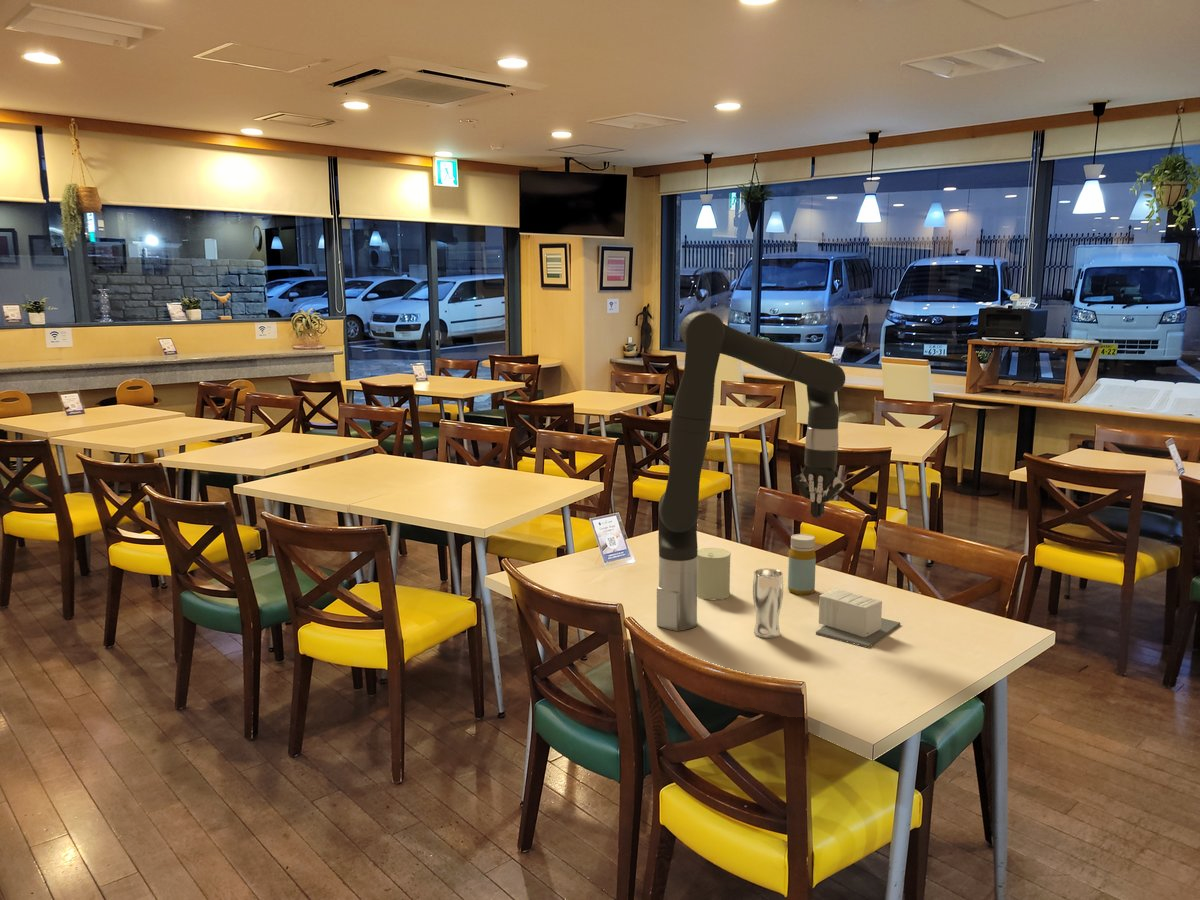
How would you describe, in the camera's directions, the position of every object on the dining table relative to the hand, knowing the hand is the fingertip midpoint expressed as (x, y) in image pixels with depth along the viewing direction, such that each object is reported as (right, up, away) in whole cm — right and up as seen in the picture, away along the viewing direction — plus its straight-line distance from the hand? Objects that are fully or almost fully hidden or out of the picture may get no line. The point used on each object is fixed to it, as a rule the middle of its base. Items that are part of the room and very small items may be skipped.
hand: (817, 517), depth 211 cm
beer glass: (-13, -27, -4) cm, 31 cm away
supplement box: (+3, -21, +2) cm, 22 cm away
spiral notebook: (+9, -27, -3) cm, 28 cm away
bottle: (+2, -22, +25) cm, 33 cm away
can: (-22, -23, +23) cm, 39 cm away
